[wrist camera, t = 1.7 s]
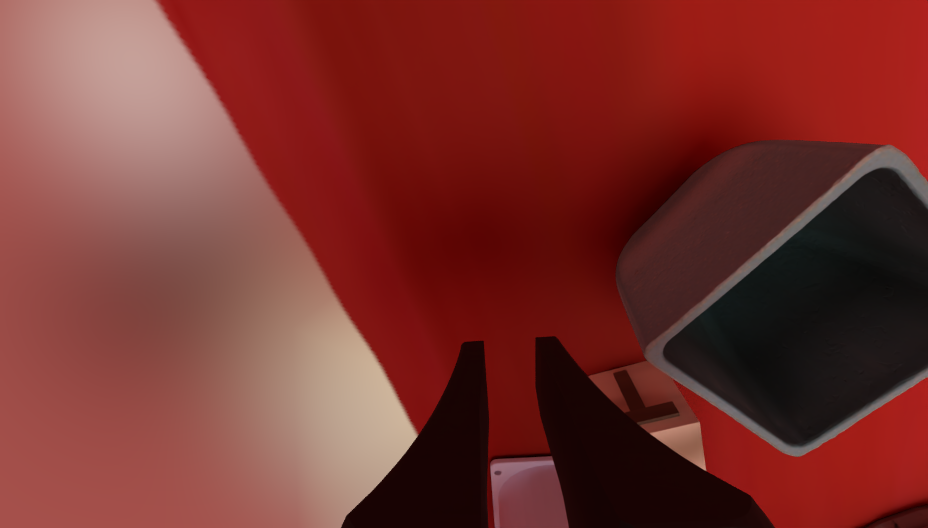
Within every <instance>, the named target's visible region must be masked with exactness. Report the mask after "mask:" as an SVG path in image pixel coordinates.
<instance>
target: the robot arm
mask: <svg viewBox="0 0 928 528" xmlns="http://www.w3.org/2000/svg"><path fill="white" fill-rule="evenodd" d="M536 392H537V398H538V404H539V410H540V416H541V420H542V423H543V427H544V430H545V434H546V437H547V441H548V444H549V448H550V451H551V455H552V456H546V457H527V458H508V459H494V460H493V461H491V463H490V470H491V483H492V496H493V509H494V522H495V528H775V527H774V526H773V524H772V523H771V522H770V520H769V519H768V517H767V516H766V515H765V513H764V512H763V511H762V510H761V509H760V507H759V506H758V505H757V504H756V502H755V501H754V500H753V498H752V497H751V496H750V495H748V494H747V493H745V492H743V491H741V490H739V489H737V488H736V487H734V486H732V485H730V484H728V483H727V482H725V481H723V480H721V479H719V478H717V477H716V476H714V475H712V474H710V473H708V472H707V471H705V470H703V469H702V468H700V467H699V466H697V465H695V464H694V463H692V462H690V461H689V460H687V459H686V458H684V457H682V456H681V455H679V454H678V453H676V452H675V451H674V450H672V449H671V448H669V447H668V446H667V445H665V444H664V443H662V442H661V441H659V440H658V439H657V438H655V437H654V436H652V435H651V434H650V433H648V432H647V431H646V430H645V429H643V428H642V427H641V426H640V425H638V424H637V423H636V422H635V421H634V420H632V419H631V418H630V417H629V416H628V415H626V414H625V413H624V412H623V411H622V410H621V409H620V408H619V407H618V406H617V405H615V404H614V403H613V402H612V401H611V400H610V399H609V398H608V397H607V396H606V395H605V394H604V393H603V392H602V391H601V390H600V389H599V388H598V387H597V386H596V385H595V384H594V382H593V381H592V380H591V379H590V378H589V377H588V376H587V375H586V374H585V372H584V371H583V370H582V369H581V368H580V367H579V366H578V364H577V363H576V362H575V361H574V359H573V358H572V357H571V356H570V354H569V353H568V352H567V351H566V349H565V348H564V347H563V345H562V344H561V343H560V341H559V340H558V339H557V338H556V337H555V336H552V337H537V338H536ZM488 436H489V411H488V397H487V382H486V368H485V355H484V341H473V342H464V343H463V344H462V345H461V350H460V354H459V357H458V360H457V363H456V366H455V368H454V371H453V373H452V376H451V378H450V380H449V382H448V385H447V387H446V389H445V391H444V393H443V395H442V397H441V399H440V401H439V402H438V404H437V406H436V408H435V410H434V412H433V413H432V415H431V417H430V418H429V420H428V422H427V423H426V425H425V426H424V428H423V429H422V431H421V432H420V434H419V435H418V437H417V438H416V440H415V441H414V442H413V443H412V445H411V446H410V448H409V449H408V450H407V452H406V453H405V454H404V455H403V457H402V458H401V459H400V460H399V462H398V463H397V464H396V465H395V466H394V468H392V470H391V471H390V472H389V473H388V474H387V475H386V477H385V478H384V479H383V480H382V481H381V482H380V483H379V484H378V485H377V486H376V488H375V489H374V490H373V491H372V492H371V493H370V494H368V496H366V497H365V498H364V499H363V500H362V501H361V502H360V503H359V504H358V505H357V506H356V507H355V508H354V509H353V510H352V511H351V512H350V513H349V514H348V515H347V516H346V518H345V520H344V522H343V524H342V527H341V528H488V511H487V468H488Z"/></svg>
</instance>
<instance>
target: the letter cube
mask: <svg viewBox="0 0 928 528" xmlns="http://www.w3.org/2000/svg"><path fill="white" fill-rule="evenodd" d="M588 377H589V378H590V379H591V380H592V381H593V382H594V384H595V385H596V386H597V387H598V388H599V389H600V390H601V391H602V392H603V393H604V394H605V395H606V396H607V397H608V398H609V399H610V400H611V401H612V402H613V403H614V404H615V405H617V406H618V407H619V408H620V409H621V410H622V411H623V412H624V413H625V414H626V415H628V416H629V417H630V418H631V419H632V420H634V421H635V422H636V423H637V424H638V425H640V426H641V427H642V428H643V429H645V430H646V431H647V432H648V433H650V434H651V435H652V436H654V437H655V438H657V439H658V440H659V441H661V442H662V443H664V444H665V445H667V446H668V447H669V448H671V449H672V450H674V451H675V452H676V453H678V454H679V455H681V456H682V457H684V458H686V459H687V460H689V461H690V462H692V463H694V464H695V465H697V466H699V467H700V468H702V469H703V470H705V471H706V468H705V460H704V452H703V445H702V437H701V429H700V422H699V420H698V419H697V417H696V416H695V414H694V413H693V411H692V409H691V408H690V406H689V405H688V403H687V402H686V400H685V399H684V397H683V396H682V394H681V392H680V391H679V389H678V388H677V386H676V385H675V383H674V382H673V380H672V379H671V377H670V376H668V375H667V374H665V373H663V372H662V371H660V370H659V369H657V368H656V367H654V366H653V365H652V364H651V363H649V362H648V361H644V362H640V363H636V364H633V365H629V366H625V367H621V368H617V369H613V370H609V371H605V372H602V373H598V374H594V375H590V376H588Z"/></svg>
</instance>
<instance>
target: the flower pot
mask: <svg viewBox="0 0 928 528" xmlns="http://www.w3.org/2000/svg"><path fill="white" fill-rule="evenodd" d="M616 284H617V288H618V291H619V294H620V297H621V300H622V302H623V305H624V307H625V310H626V313H627V315H628V318H629V320H630V323H631V325H632V327H633V330H634V332H635V335H636V337H637V339H638V342H639V344H640V347H641V349H642V352H643V354H644V357H645V358H646V360H647V361H648V362H649V363H651V364H652V365H653V366H654V367H656V368H657V369H659V370H660V371H662V372H663V373H665V374H667V375H668V376H670V377H671V378H673V379H674V380H676V381H677V382H679V383H681V384H682V385H684V386H685V387H687V388H688V389H690V390H692V391H693V392H695V393H696V394H697V395H699V396H701V397H702V398H703V399H706V400H707V401H708V402H710V403H711V404H713V405H714V406H716V407H718V408H719V409H720V410H722V411H724V412H725V413H726V414H728V415H729V416H731V417H732V418H733V419H735V420H736V421H737V422H739V423H741V424H742V425H743V426H745V427H746V428H748V429H749V430H750V431H752V432H753V433H755V434H757V435H758V436H759V437H761V438H762V439H764V440H765V441H767V442H768V443H769V444H771V445H772V446H774V447H775V448H776V449H778V450H779V451H781V452H783V453H785V454H788V455H791V456H796V457H799V456H802V455H804V454H806V453H807V452H809V451H811V450H813V449H815V448H818V447H819V446H820V445H821V444H823V443H824V442H826V441H828V440H829V439H832V438H834V437H836V435H837V434H839V433H841V432H843V431H844V430H846V429H847V428H849V427H850V426H852V425H853V424H854V423H855V422H857V421H859V420H860V419H862V418H864V417H865V416H867V415H868V414H869V413H871V412H872V411H874V410H875V409H877V408H879V407H881V406H882V405H884V404H885V403H887V402H889V401H890V400H892V399H893V398H895V397H896V396H898V395H900V394H901V393H903V392H905V391H906V390H908V389H909V388H911V387H913V386H914V385H916V384H917V383H918V382H920V381H921V380H923V379H925V378H926V377H928V182H927V180H926V179H925V178H924V177H923V176H922V175H921V174H920V172H919V170H918V169H917V167H916V166H915V165H914V164H913V162H912V161H911V160H910V159H909V158H908V156H907V155H906V154H904V153H903V152H901V151H900V150H898V149H897V148H895V147H894V146H892V145H875V144H860V143H843V142H823V141H803V140H764V141H756V142H751V143H747V144H743V145H740V146H737V147H735V148H732V149H730V150H728V151H725V152H723V153H722V154H720V155H718V156H716V157H715V158H713V159H712V160H710V161H709V162H707V163H706V164H704V165H703V166H702V167H700V168H699V169H698V170H696V171H695V172H694V173H693V174H692V175H691V176H690V177H689V178H688V179H687V180H686V181H685V182H684V183H683V184H682V185H681V186H680V188H679V189H678V190H677V191H676V192H675V193H674V194H673V195H672V196H671V197H670V198H669V199H668V200H667V201H666V202H665V203H664V204H663V205H662V206H661V207H660V208H659V209H658V210H657V211H656V212H655V213H654V214H653V215H652V216H651V217H650V218H649V219H648V220H647V221H646V222H645V223H644V224H643V225H642V226H641V227H640V228H639V229H638V230H637V231H636V232H635V233H634V234H633V235H632V237H631V238H630V239H629V241H628V242H627V244H626V245H625V247H624V248H623V250H622V252H621V254H620V256H619V259H618V262H617V266H616Z"/></svg>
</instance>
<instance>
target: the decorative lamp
mask: <svg viewBox="0 0 928 528" xmlns="http://www.w3.org/2000/svg"><path fill="white" fill-rule="evenodd" d="M864 528H928V505H926V506H921V507H916V508H912V509H909V510H906V511H903V512H900V513H897V514H895V515H892V516H889V517H886V518H883V519H880V520H878V521H876V522H874V523H872V524H870V525H868V526H866V527H864Z"/></svg>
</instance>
